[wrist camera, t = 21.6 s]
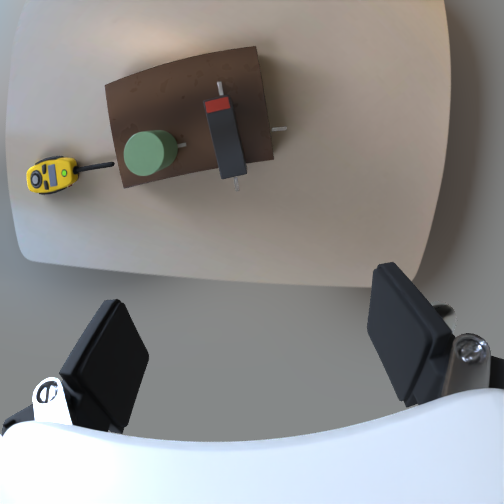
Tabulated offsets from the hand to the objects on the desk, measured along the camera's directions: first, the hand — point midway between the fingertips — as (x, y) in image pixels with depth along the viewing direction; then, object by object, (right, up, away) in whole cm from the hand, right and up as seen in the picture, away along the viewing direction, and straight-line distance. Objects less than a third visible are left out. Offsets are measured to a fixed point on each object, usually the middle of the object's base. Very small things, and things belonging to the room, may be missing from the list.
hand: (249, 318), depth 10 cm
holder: (-2, +13, +15) cm, 20 cm away
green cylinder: (-9, +12, +15) cm, 22 cm away
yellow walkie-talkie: (-23, +13, +18) cm, 32 cm away
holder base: (-6, +16, +17) cm, 24 cm away
